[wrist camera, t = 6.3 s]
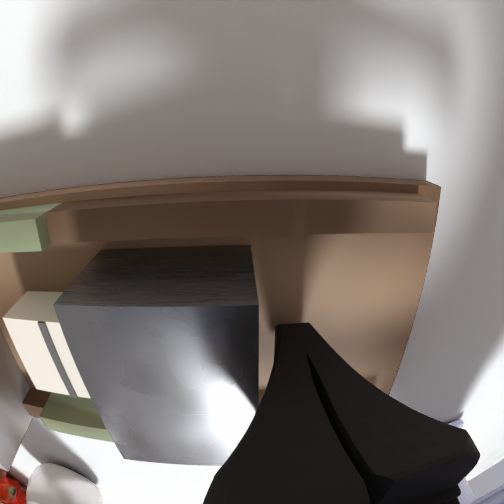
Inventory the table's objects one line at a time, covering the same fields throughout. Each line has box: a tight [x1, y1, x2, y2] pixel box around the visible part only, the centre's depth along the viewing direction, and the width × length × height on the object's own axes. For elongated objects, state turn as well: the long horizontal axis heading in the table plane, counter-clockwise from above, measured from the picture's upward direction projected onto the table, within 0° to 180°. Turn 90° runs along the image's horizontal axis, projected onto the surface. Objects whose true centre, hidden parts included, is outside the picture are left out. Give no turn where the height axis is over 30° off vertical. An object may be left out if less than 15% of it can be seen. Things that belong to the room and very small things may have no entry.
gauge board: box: [0, 175, 441, 472], centre depth 10 cm, size 11×20×6 cm, turn 90°
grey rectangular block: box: [53, 245, 259, 465], centre depth 10 cm, size 7×5×4 cm
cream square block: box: [3, 291, 90, 398], centre depth 10 cm, size 4×4×2 cm
